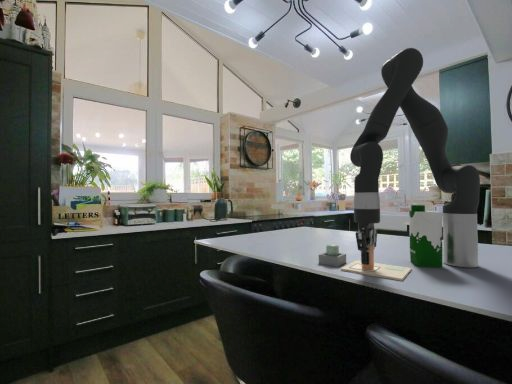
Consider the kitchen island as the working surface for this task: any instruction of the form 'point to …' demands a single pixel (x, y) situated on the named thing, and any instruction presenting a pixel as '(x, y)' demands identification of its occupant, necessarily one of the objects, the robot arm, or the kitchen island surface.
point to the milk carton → (425, 237)
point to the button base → (332, 259)
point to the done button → (332, 250)
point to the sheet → (379, 270)
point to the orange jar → (370, 258)
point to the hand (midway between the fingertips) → (367, 262)
